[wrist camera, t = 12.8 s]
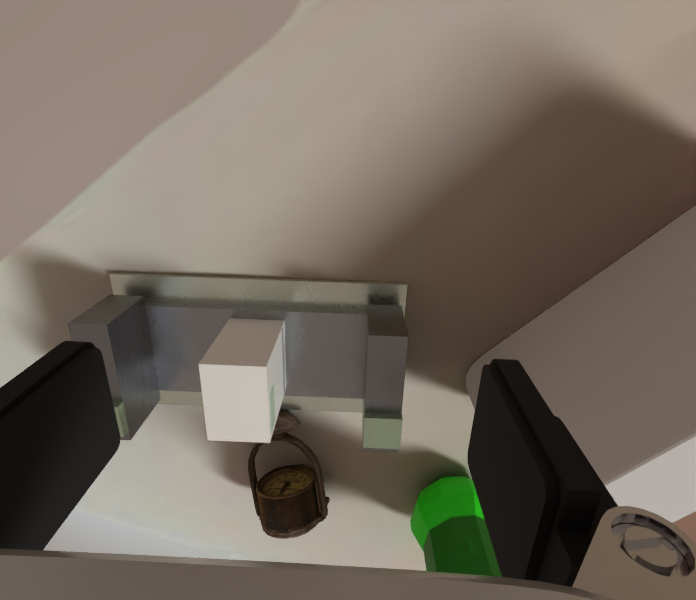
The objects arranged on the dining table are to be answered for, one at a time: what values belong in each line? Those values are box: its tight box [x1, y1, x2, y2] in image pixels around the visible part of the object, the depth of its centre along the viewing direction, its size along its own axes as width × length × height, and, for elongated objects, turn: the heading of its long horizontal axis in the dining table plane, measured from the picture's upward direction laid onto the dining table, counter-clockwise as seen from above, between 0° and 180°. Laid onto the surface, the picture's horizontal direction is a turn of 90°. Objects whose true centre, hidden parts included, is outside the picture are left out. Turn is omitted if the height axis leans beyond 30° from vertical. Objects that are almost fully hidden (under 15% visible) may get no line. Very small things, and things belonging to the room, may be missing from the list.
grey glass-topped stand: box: [68, 272, 408, 452], centre depth 38 cm, size 14×27×9 cm, turn 88°
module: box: [199, 318, 286, 443], centre depth 37 cm, size 7×5×8 cm
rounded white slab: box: [466, 205, 696, 523], centre depth 31 cm, size 29×8×18 cm, turn 133°
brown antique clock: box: [248, 411, 330, 539], centre depth 44 cm, size 7×13×10 cm
